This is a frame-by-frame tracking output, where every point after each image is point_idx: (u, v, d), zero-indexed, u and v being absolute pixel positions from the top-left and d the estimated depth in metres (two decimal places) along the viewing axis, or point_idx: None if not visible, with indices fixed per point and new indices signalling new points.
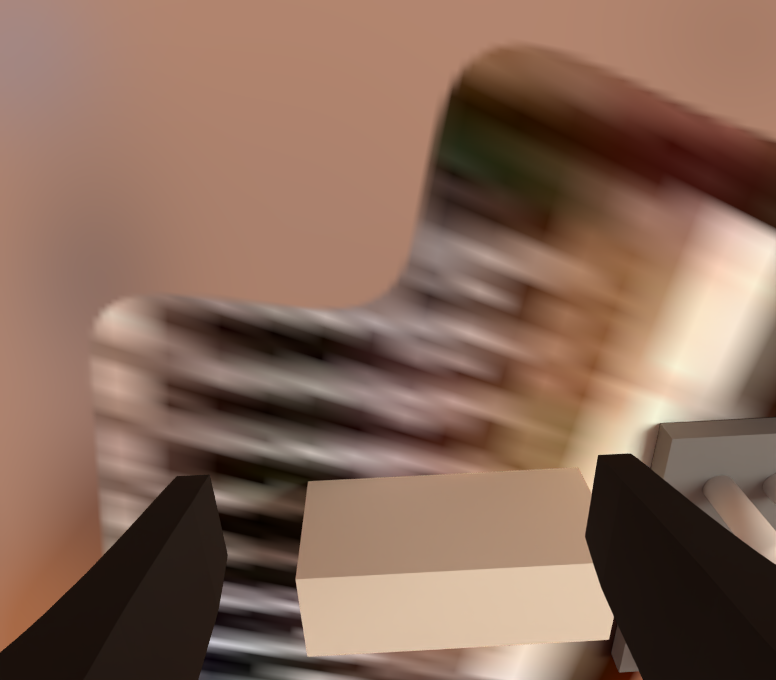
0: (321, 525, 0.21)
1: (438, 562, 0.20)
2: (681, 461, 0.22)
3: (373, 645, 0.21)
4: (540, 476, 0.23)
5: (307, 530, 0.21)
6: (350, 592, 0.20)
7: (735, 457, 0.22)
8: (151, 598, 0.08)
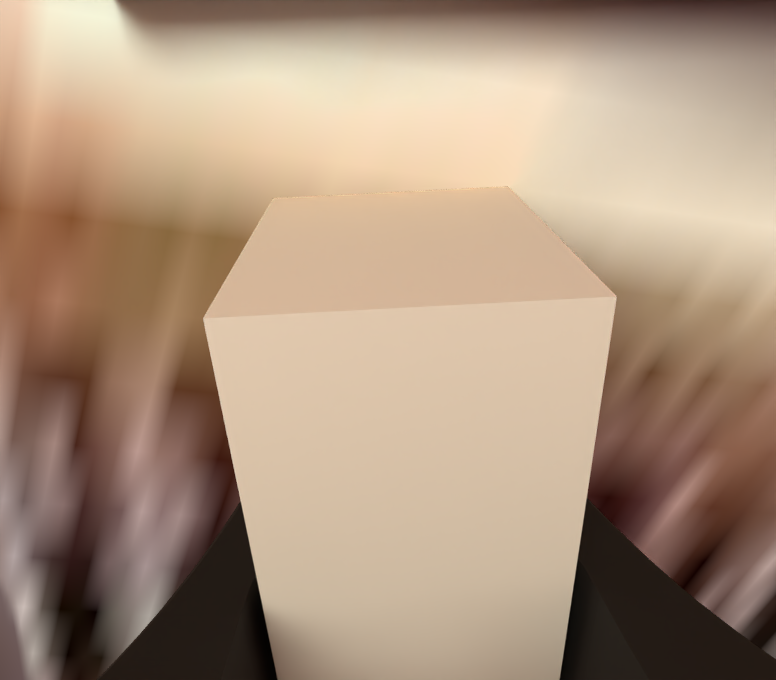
0: None
1: None
2: None
3: None
4: None
5: None
6: None
7: None
8: None
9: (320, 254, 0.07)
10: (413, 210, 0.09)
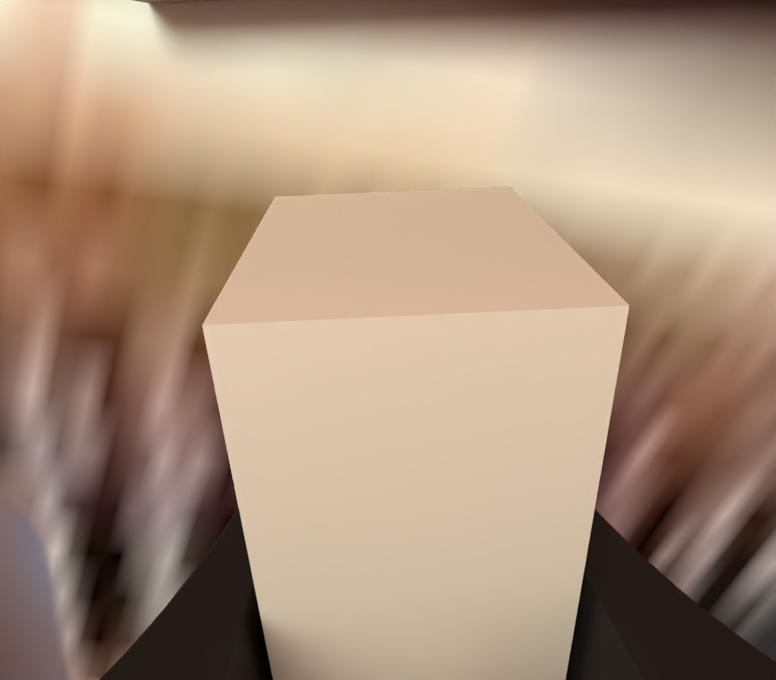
0: None
1: None
2: None
3: None
4: None
5: None
6: None
7: None
8: None
9: (322, 258, 0.07)
10: (417, 214, 0.09)
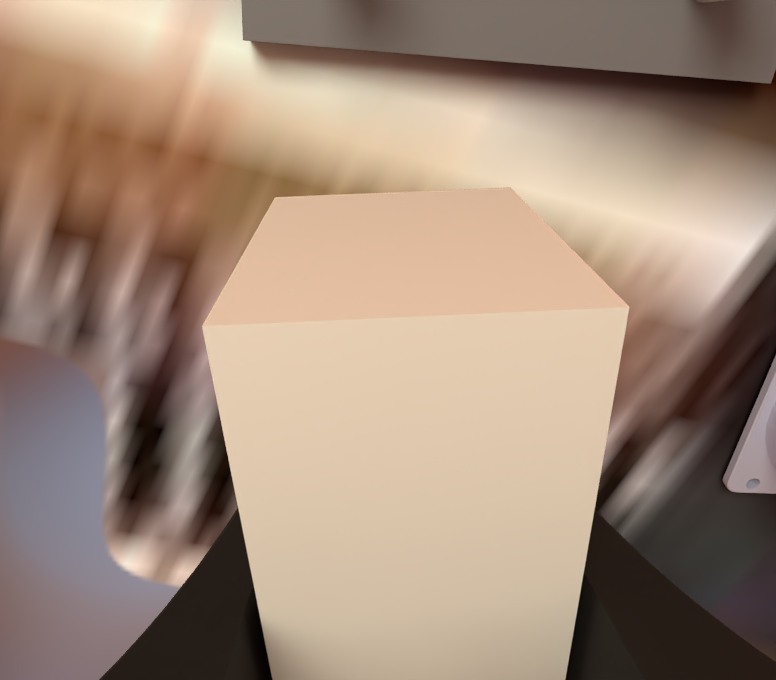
0: None
1: None
2: (287, 18, 0.15)
3: None
4: None
5: None
6: None
7: None
8: None
9: (322, 259, 0.07)
10: (418, 214, 0.09)
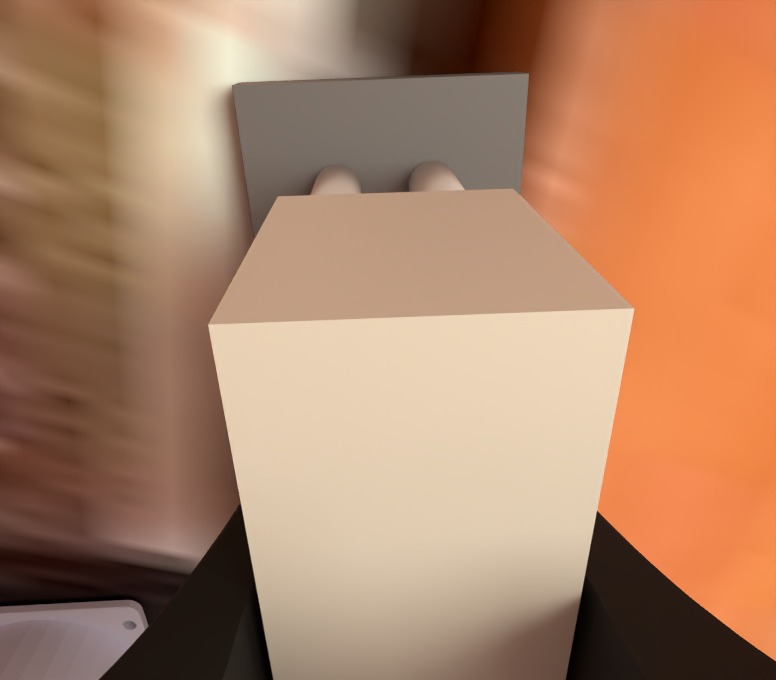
0: None
1: None
2: (262, 133, 0.14)
3: None
4: None
5: None
6: None
7: (348, 126, 0.14)
8: None
9: (326, 258, 0.07)
10: (421, 214, 0.09)
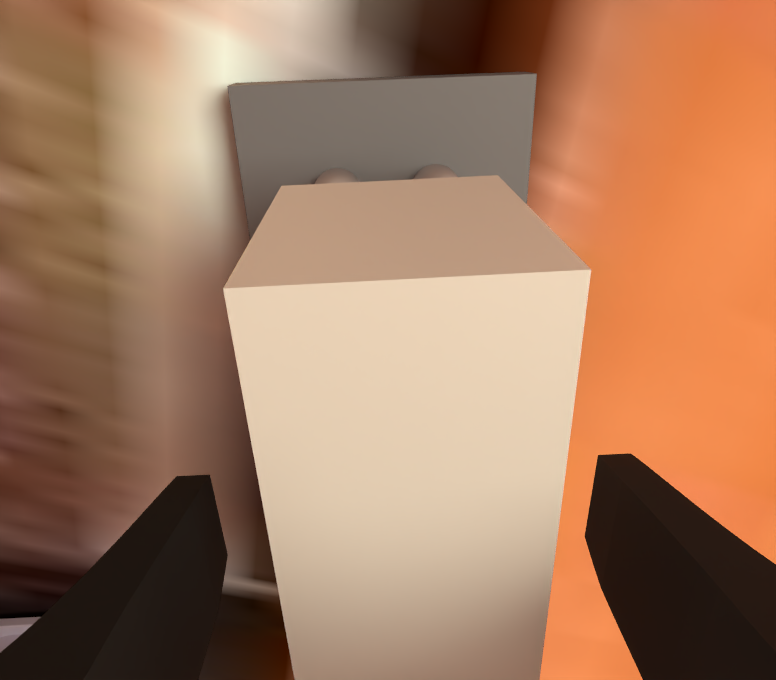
0: None
1: None
2: (259, 136, 0.14)
3: None
4: None
5: None
6: None
7: (348, 129, 0.14)
8: (150, 599, 0.08)
9: (325, 235, 0.08)
10: (411, 198, 0.09)
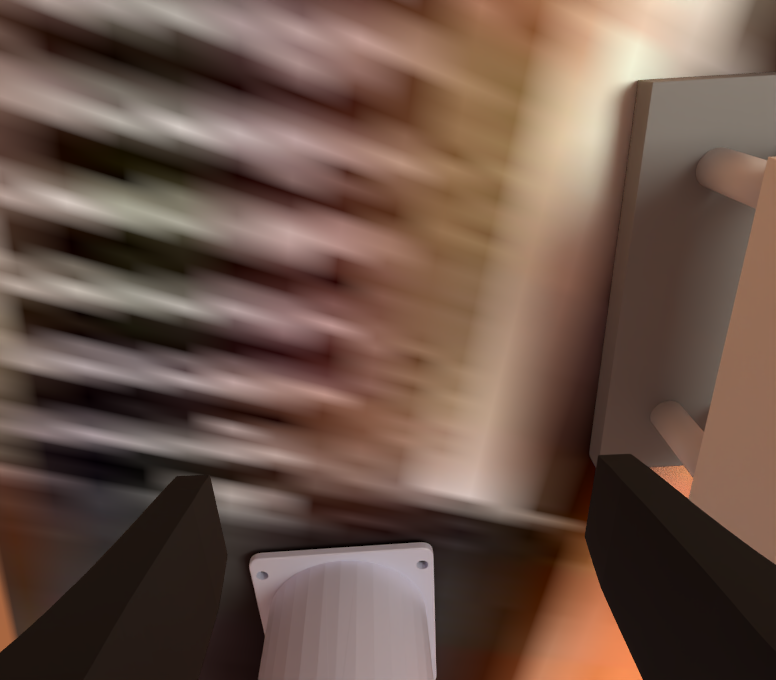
0: None
1: None
2: (666, 122, 0.17)
3: None
4: (767, 232, 0.14)
5: None
6: None
7: (738, 115, 0.17)
8: (150, 598, 0.08)
9: None
10: None
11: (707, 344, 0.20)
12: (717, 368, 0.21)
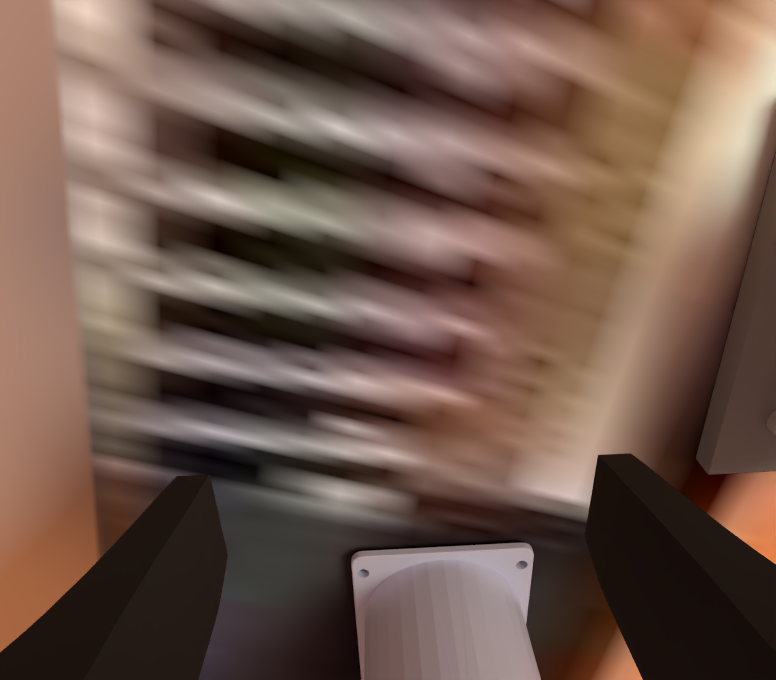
0: None
1: None
2: None
3: None
4: None
5: None
6: None
7: None
8: (150, 598, 0.08)
9: None
10: None
11: None
12: None
